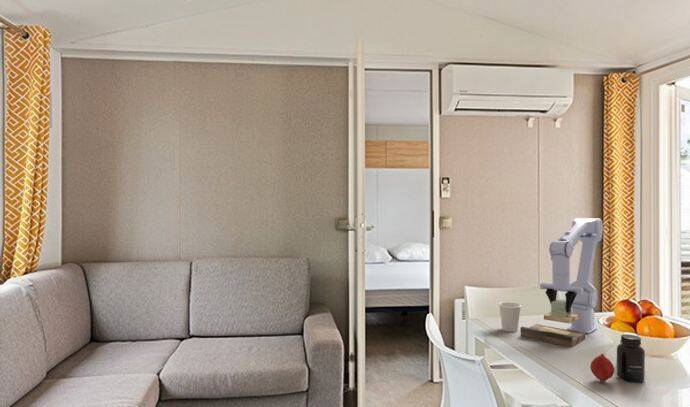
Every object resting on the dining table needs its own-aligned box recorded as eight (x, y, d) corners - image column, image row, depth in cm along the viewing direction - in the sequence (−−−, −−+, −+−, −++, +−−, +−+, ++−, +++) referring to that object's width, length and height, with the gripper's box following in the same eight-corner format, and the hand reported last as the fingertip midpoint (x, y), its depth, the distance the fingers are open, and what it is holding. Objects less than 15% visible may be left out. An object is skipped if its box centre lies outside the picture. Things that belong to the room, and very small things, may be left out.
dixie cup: (498, 331, 178) (497, 305, 178) (499, 326, 186) (499, 301, 186) (521, 333, 175) (521, 307, 175) (521, 328, 183) (521, 302, 183)
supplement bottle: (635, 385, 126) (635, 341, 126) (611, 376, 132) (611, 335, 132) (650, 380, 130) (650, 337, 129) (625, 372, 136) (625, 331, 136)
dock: (536, 329, 181) (536, 320, 181) (585, 338, 168) (585, 329, 168) (520, 336, 171) (520, 327, 171) (571, 347, 159) (571, 337, 159)
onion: (586, 378, 132) (586, 350, 132) (605, 377, 132) (605, 349, 132) (599, 386, 126) (598, 357, 126) (618, 385, 126) (618, 356, 126)
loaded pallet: (553, 314, 174) (553, 297, 174) (578, 318, 168) (578, 301, 168) (543, 319, 168) (543, 301, 168) (569, 323, 161) (569, 305, 161)
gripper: (536, 272, 170) (536, 309, 170) (578, 277, 160) (578, 316, 160) (544, 270, 175) (544, 306, 175) (585, 274, 165) (585, 312, 165)
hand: (561, 311), depth 168 cm, fingers closed on loaded pallet, 4 cm apart
